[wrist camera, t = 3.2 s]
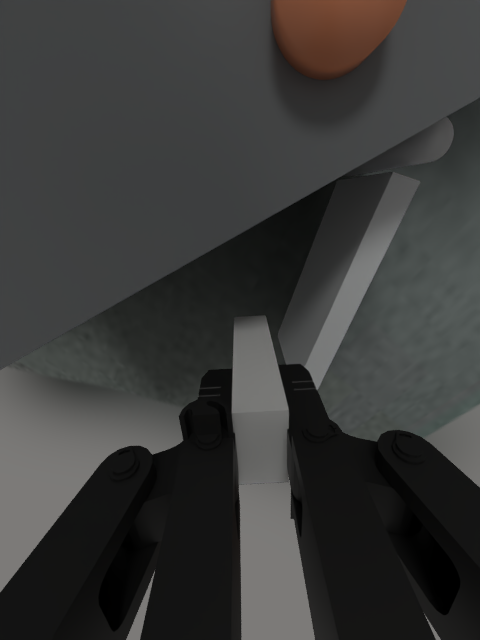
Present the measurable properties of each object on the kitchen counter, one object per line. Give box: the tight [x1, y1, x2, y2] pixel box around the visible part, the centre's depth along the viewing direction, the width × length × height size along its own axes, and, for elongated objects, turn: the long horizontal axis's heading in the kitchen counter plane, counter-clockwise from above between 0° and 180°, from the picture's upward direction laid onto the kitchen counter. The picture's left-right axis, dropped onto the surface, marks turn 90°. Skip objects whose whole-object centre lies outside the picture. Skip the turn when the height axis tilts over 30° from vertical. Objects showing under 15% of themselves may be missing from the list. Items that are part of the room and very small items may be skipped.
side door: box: [277, 172, 421, 390], centre depth 13 cm, size 9×2×6 cm, turn 164°
